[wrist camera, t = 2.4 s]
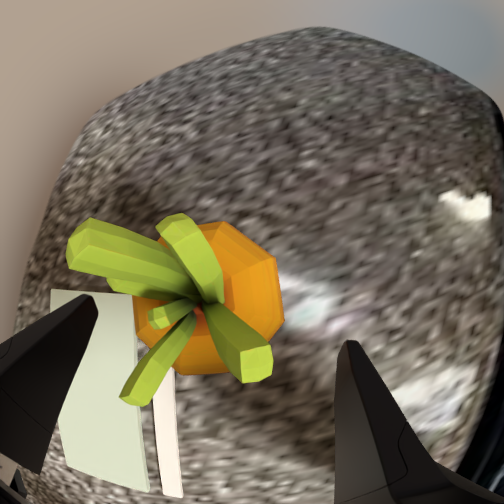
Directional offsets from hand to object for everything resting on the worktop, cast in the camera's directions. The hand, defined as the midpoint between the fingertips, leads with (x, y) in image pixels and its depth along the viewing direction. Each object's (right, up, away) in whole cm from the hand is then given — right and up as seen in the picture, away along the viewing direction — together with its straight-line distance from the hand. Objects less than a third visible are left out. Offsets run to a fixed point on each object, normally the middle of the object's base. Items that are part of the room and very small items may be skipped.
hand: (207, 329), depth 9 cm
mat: (-10, -8, +8) cm, 16 cm away
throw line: (-4, -8, +8) cm, 12 cm away
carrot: (+1, -1, +9) cm, 10 cm away
